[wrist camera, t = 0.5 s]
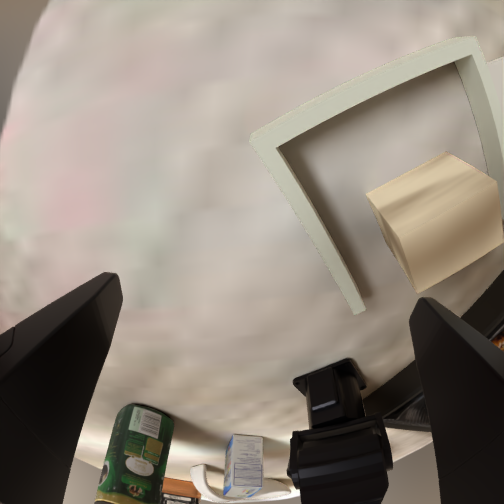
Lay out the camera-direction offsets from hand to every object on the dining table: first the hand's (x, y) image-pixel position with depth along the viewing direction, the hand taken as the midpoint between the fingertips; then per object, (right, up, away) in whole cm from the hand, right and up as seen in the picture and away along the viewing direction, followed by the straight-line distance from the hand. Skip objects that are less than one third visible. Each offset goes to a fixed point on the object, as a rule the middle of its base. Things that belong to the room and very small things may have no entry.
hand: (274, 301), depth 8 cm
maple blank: (+11, +5, +11) cm, 17 cm away
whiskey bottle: (-18, -57, +50) cm, 78 cm away
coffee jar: (-16, -22, +29) cm, 39 cm away
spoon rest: (-2, -46, +44) cm, 63 cm away
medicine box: (-2, -28, +32) cm, 42 cm away
